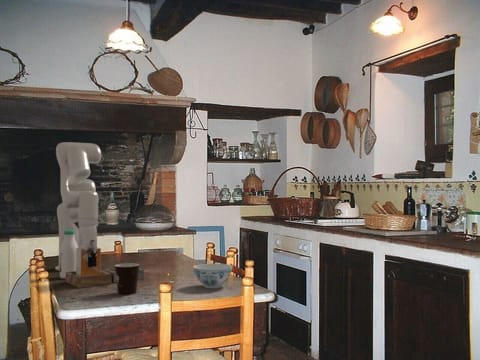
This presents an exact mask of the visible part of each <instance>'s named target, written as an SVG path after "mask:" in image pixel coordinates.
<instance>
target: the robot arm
mask: <svg viewBox="0 0 480 360" xmlns="http://www.w3.org/2000/svg"><path fill="white" fill-rule="evenodd" d="M55 155H56V160H57V162H58V165H59V168H60V169H59V170H60V196H61V200H62V203H60V204H59V205H58V206H57V208H56V215H57V220H58V221H57V222H58V265H57V266H55V271H59V272H60V249H61V246H62V243H63V241H64V231H66V230H74V231H75V241H76V243H77V245H78V248H82V249H84V251H85V252H86V251H87V250H88V254H89V257H88V267H96V258H97V254H96V253H97V247H98V231H97V227H98V226H99V201H100V199H99V194H98V191H96V189H97V187H96V184H95V181H93V180H91V179H90V178H89V177H90V176H91V168H90V164H98V163H100V162H101V159H102V151H101V148H100V146H99V145H97V144H96V143H89V142H74V141H73V142H70V141H68V142H66V141H65V142H59V143H58V144H57V145H56V149H55ZM87 178H89V179H87ZM75 223H78V226H77V225H76V224H75Z"/></svg>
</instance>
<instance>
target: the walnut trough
mask: <svg viewBox="0 0 480 360" xmlns="http://www.w3.org/2000/svg"><path fill="white" fill-rule="evenodd" d="M65 283H67V284H69V285H70V286H71V285H72V286H73V287H75V288H77V289H81V288H90V287H91V288H92V287H100V286H108V285H109V284H110V285H112V282H111V274H110V273H107V272H104V270H101V271H100V275H94V276H84V277H79V276H77V275H76V271H72V272H66V279H65Z"/></svg>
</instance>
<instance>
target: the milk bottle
mask: <svg viewBox="0 0 480 360" xmlns="http://www.w3.org/2000/svg"><path fill="white" fill-rule="evenodd" d="M76 248H78V245H77V243H76V241H75V231H74V230H66V231H64V241H63V243H62V246H61V249H60V271H59V278H60V279H65V280H66V272H72V271H76Z"/></svg>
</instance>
